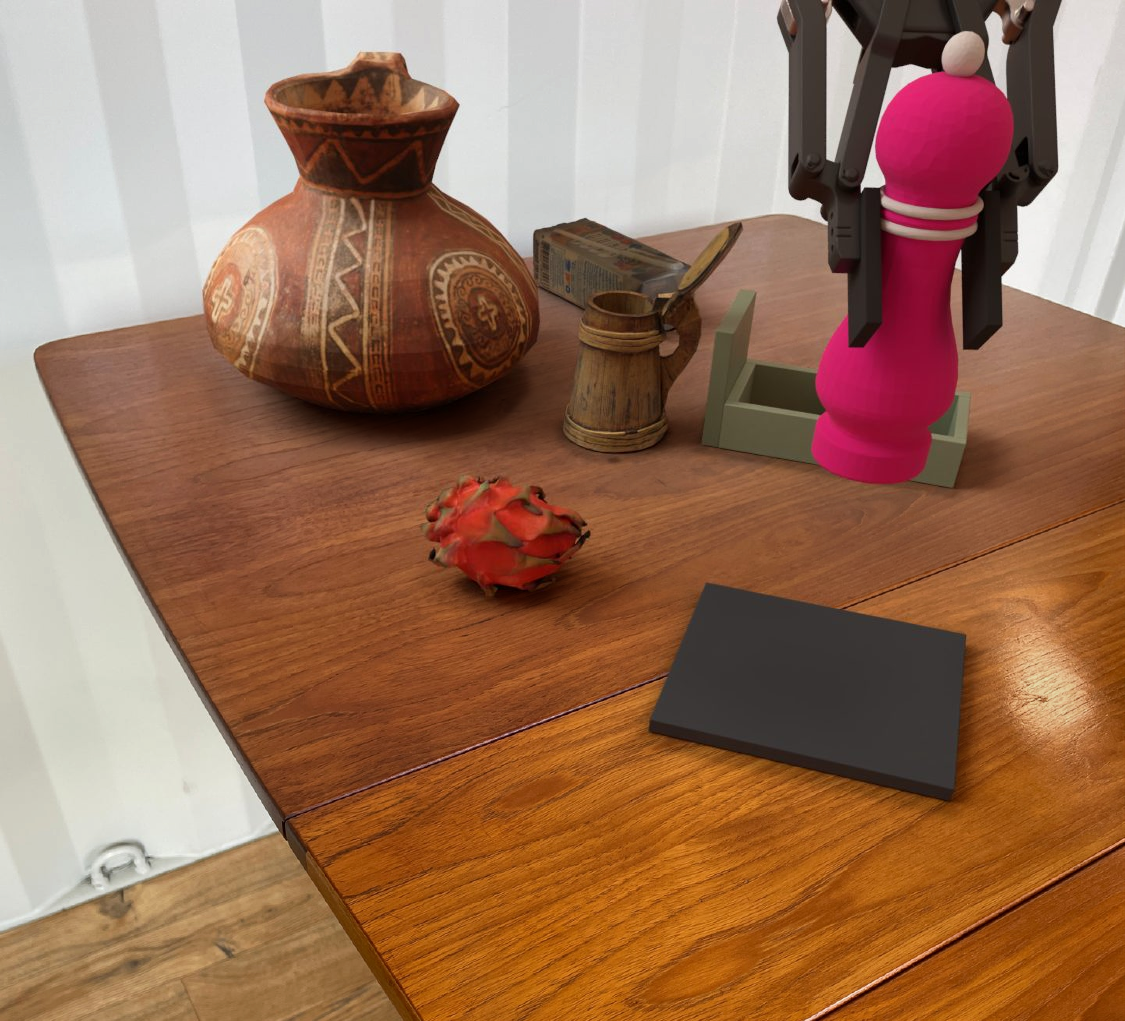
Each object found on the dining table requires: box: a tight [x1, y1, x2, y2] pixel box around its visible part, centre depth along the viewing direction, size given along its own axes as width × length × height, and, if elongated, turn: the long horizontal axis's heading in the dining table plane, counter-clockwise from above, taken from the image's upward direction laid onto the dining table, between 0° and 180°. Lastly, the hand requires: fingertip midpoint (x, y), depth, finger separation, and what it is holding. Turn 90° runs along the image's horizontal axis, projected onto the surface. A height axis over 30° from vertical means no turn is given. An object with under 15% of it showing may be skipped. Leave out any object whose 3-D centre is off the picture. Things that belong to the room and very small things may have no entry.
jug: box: [201, 51, 541, 415], centre depth 95 cm, size 30×30×25 cm
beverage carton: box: [532, 217, 696, 332], centre depth 117 cm, size 8×19×7 cm, turn 37°
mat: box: [648, 582, 967, 802], centre depth 70 cm, size 18×16×1 cm
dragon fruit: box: [419, 473, 591, 597], centre depth 76 cm, size 8×8×12 cm
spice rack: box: [701, 288, 972, 489], centre depth 93 cm, size 22×10×10 cm, turn 72°
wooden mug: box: [562, 221, 744, 453], centre depth 90 cm, size 9×14×18 cm, turn 82°
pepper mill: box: [811, 31, 1014, 485], centre depth 53 cm, size 7×7×20 cm
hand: (923, 336), depth 52 cm, fingers closed on pepper mill, 5 cm apart
